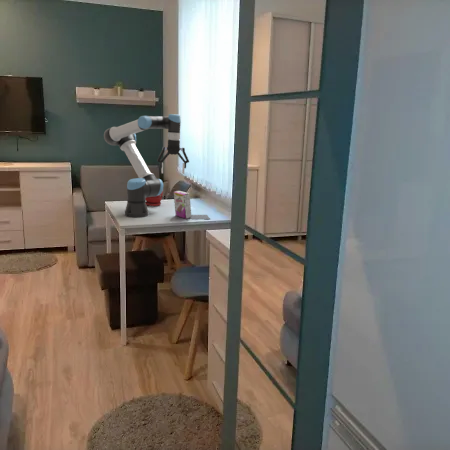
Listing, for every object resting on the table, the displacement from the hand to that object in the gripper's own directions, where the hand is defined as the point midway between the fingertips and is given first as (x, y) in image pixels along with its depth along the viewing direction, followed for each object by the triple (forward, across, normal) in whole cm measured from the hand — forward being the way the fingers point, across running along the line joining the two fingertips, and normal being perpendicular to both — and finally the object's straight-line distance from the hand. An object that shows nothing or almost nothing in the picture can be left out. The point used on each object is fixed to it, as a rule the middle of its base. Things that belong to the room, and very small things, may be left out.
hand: (172, 173), depth 279 cm
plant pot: (+29, -6, +38) cm, 48 cm away
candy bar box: (+28, +8, -2) cm, 29 cm away
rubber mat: (+28, +17, -4) cm, 33 cm away
